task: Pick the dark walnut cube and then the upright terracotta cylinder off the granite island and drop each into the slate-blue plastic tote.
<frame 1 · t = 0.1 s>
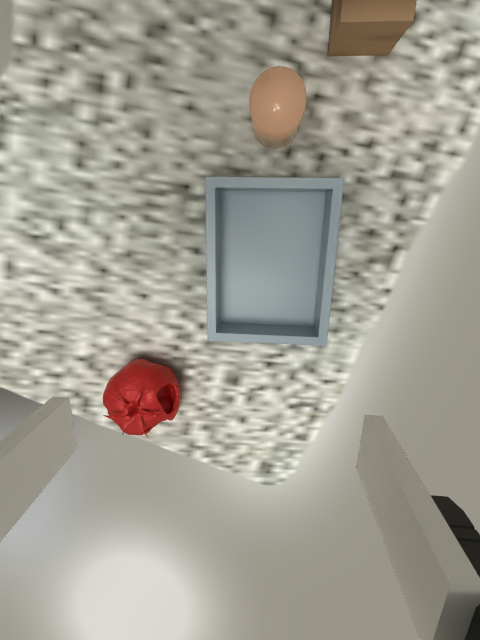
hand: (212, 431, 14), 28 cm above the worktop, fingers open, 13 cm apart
pomegranate: (152, 383, 46), on the worktop
walnut cube: (361, 19, 32), on the worktop
terracotta cylinder: (275, 122, 35), on the worktop
tote: (269, 261, 39), on the worktop
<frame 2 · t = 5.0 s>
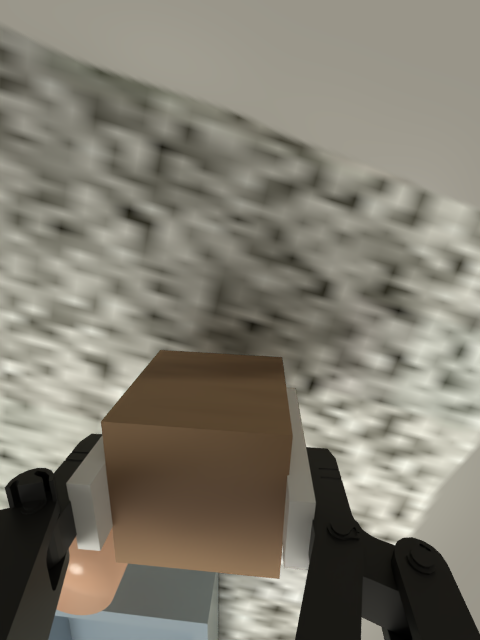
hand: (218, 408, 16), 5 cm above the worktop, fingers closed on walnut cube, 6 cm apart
walnut cube: (219, 407, 16), point 4 cm above the worktop, touching gripper
terracotta cylinder: (126, 482, 24), on the worktop
tote: (138, 624, 28), on the worktop
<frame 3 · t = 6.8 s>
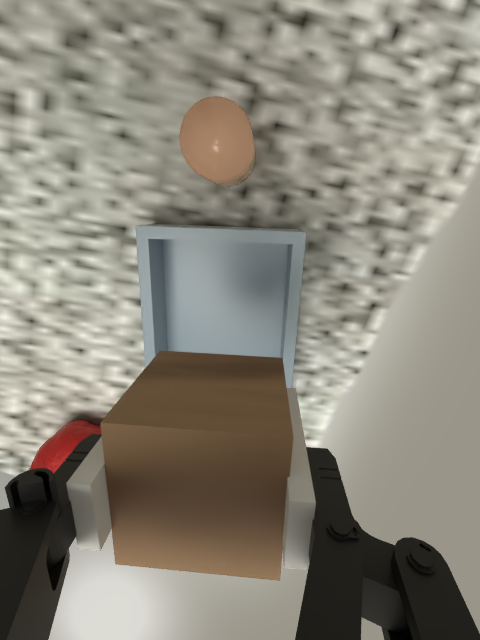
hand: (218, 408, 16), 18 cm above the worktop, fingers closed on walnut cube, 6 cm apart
pomegranate: (96, 444, 40), on the worktop
walnut cube: (219, 408, 16), point 17 cm above the worktop, touching gripper
terracotta cylinder: (227, 156, 28), on the worktop
tote: (224, 316, 33), on the worktop
when the fingers open (6 cm above the worktop, at t = 8.5 s): walnut cube drops 5 cm, resting on tote.
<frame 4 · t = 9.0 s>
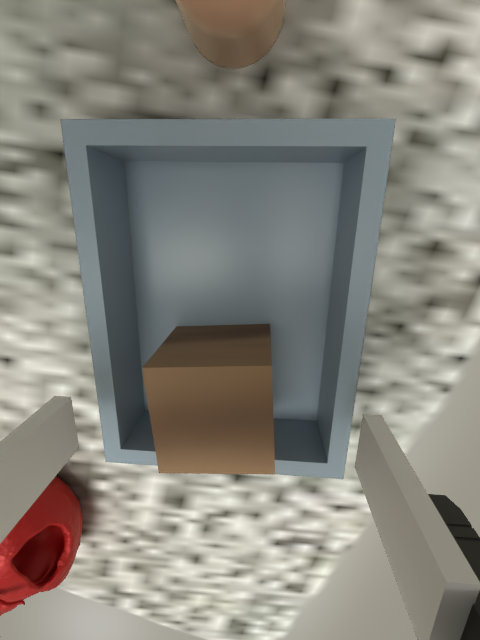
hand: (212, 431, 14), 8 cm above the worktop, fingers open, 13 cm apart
pomegranate: (42, 499, 27), on the worktop
walnut cube: (225, 368, 21), point 1 cm above the worktop, touching tote
terracotta cylinder: (234, 8, 16), on the worktop
tote: (231, 301, 20), on the worktop
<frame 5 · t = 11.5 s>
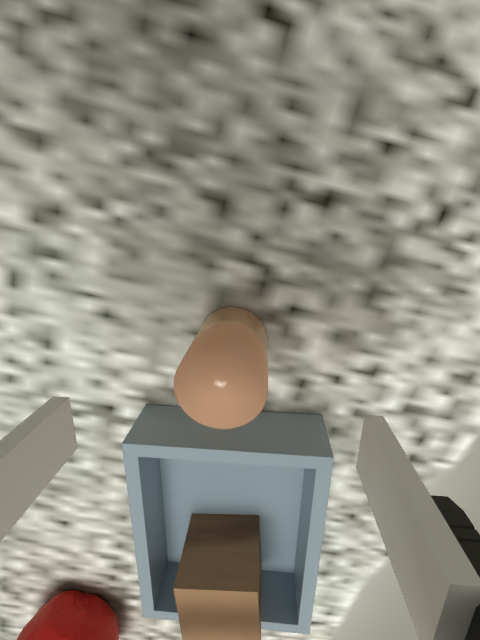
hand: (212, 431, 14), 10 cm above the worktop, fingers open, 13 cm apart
pomegranate: (86, 608, 35), on the worktop
walnut cube: (227, 539, 29), point 1 cm above the worktop, touching tote
terracotta cylinder: (233, 339, 23), on the worktop
tote: (231, 496, 28), on the worktop
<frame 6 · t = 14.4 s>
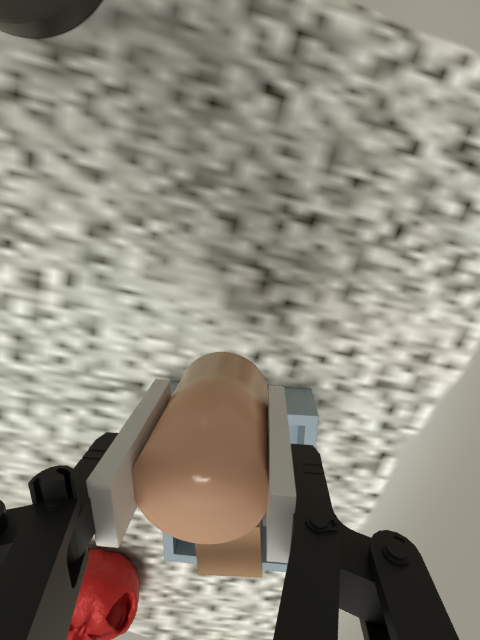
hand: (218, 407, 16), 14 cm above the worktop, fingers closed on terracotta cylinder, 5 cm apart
pomegranate: (110, 567, 41), on the worktop
walnut cube: (234, 498, 35), point 1 cm above the worktop, touching tote
terracotta cylinder: (223, 392, 18), point 12 cm above the worktop, touching gripper
tote: (237, 460, 34), on the worktop
when the fingers open (6 cm above the worktop, at t = 16.5 s): terracotta cylinder drops 3 cm, resting on tote.
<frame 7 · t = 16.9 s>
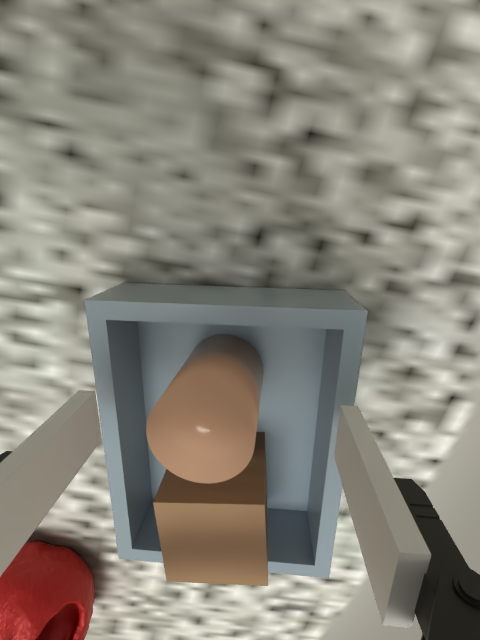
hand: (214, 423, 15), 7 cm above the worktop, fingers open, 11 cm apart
pomegranate: (56, 566, 30), on the worktop
walnut cube: (225, 466, 24), point 1 cm above the worktop, touching tote
terracotta cylinder: (225, 370, 21), point 1 cm above the worktop, touching tote
tote: (230, 410, 23), on the worktop
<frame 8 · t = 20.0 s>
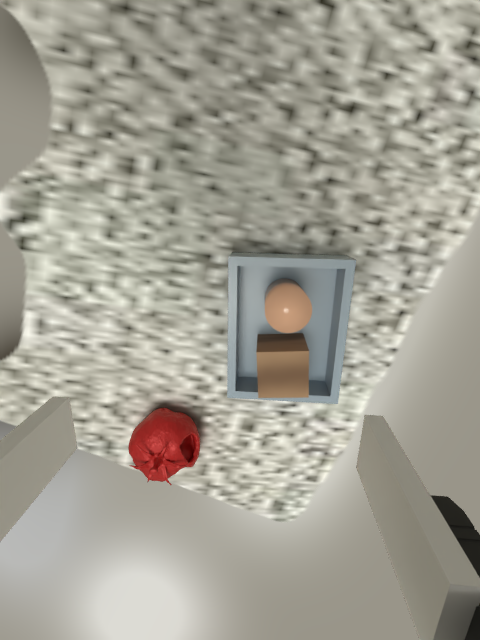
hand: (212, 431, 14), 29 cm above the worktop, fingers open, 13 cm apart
pomegranate: (172, 428, 49), on the worktop
walnut cube: (280, 354, 43), point 1 cm above the worktop, touching tote
terracotta cylinder: (284, 297, 41), point 1 cm above the worktop, touching tote
tote: (284, 322, 42), on the worktop
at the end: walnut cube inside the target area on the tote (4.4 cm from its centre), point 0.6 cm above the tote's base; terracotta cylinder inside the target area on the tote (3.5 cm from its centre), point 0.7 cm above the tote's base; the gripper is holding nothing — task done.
